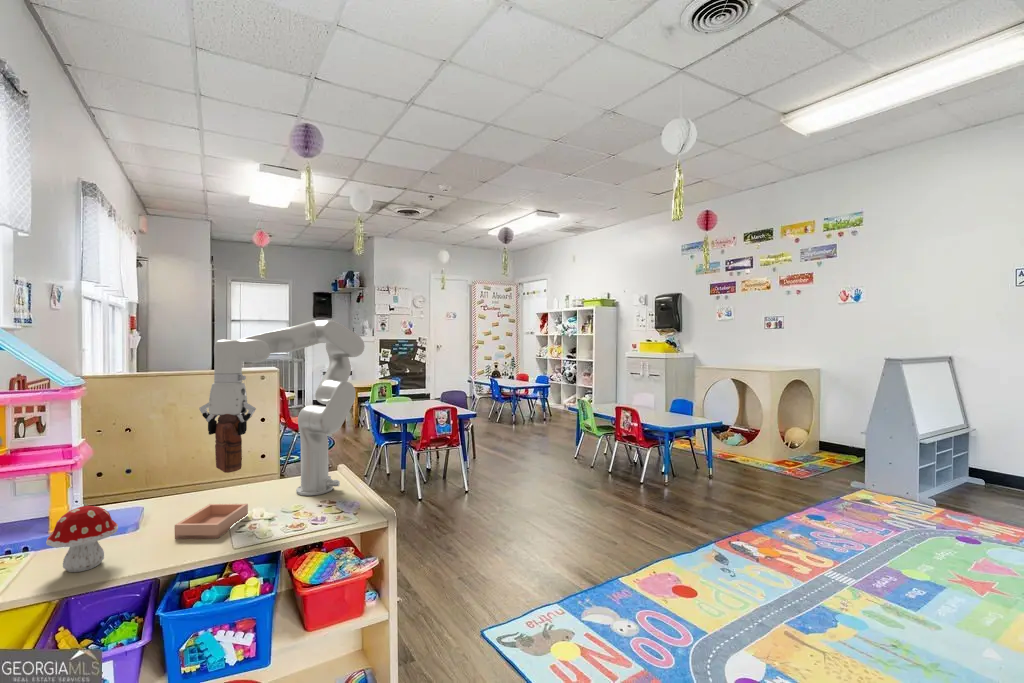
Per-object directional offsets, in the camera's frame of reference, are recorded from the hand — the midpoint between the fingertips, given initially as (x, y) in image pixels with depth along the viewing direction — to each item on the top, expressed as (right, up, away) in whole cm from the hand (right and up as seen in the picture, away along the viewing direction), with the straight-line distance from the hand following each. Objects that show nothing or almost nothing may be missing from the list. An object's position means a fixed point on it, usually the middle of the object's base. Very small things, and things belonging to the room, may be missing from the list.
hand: (227, 433), depth 155 cm
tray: (0, -27, -7) cm, 28 cm away
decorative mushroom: (-18, -28, -32) cm, 45 cm away
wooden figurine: (0, -11, 0) cm, 11 cm away
